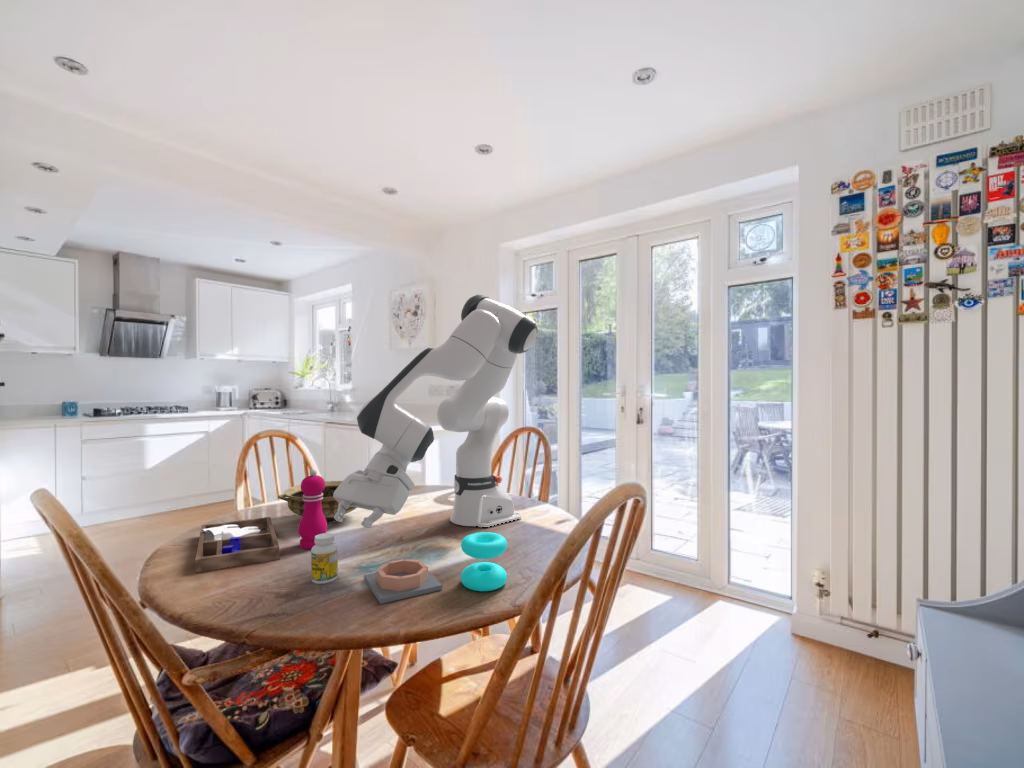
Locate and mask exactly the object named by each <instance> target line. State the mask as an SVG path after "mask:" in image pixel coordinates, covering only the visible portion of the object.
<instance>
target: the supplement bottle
mask: <svg viewBox="0 0 1024 768" xmlns="http://www.w3.org/2000/svg"><path fill="white" fill-rule="evenodd" d="M314 542H315V544H316V545H314V546H313V547H312V549H310V550H311V551H310V556H311V558H310V561H311V562H310V563H311V564H310V565H311V566H310V567H311V569H310V570H311V573H310V574H311V575H310V576H311V577H310V578H311V582H312V583H314V584H316V585H322V584H330V583H332V582H334V581H336V580H337V578H338V576H339V575H338V570H339V569H338V561H339V559H338V553H339V552H338V551H339V549H338V545H337V544H336V543H335V534H334V533H331V532H326V533H323V534H319V535H316V536H315V541H314Z"/></svg>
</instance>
